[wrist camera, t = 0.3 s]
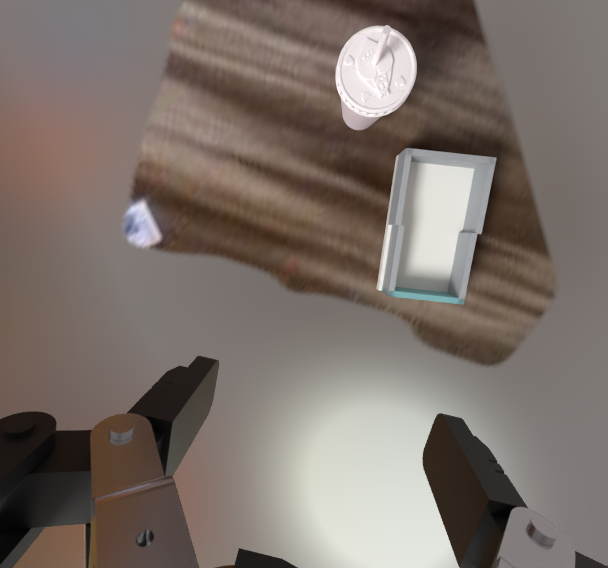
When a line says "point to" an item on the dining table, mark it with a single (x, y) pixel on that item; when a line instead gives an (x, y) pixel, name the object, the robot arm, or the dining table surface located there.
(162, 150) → the dining table surface
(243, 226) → the dining table surface
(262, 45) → the dining table surface
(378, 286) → the grey tray
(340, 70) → the smoothie
